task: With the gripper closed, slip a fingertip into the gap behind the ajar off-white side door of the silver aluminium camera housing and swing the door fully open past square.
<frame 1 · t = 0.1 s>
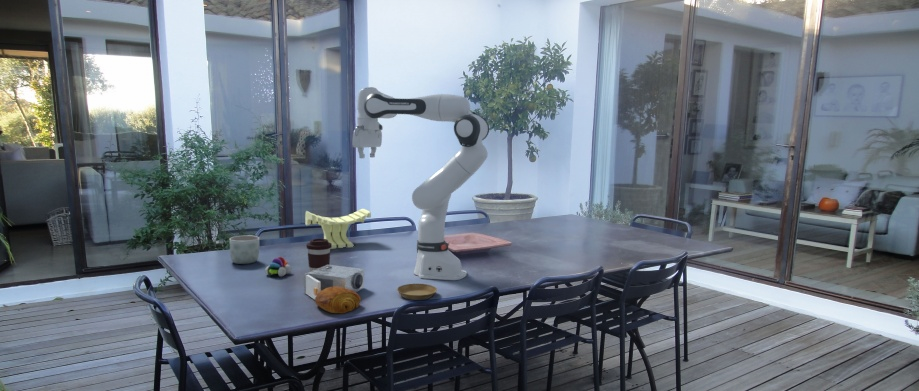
hand: (367, 157, 239), 48 cm above the table, fingers open, 8 cm apart
pale yellow ridged piece: (337, 245, 287), on the table
rainbow toy: (278, 275, 227), on the table
croissant: (338, 308, 188), on the table
camera housing: (335, 290, 207), on the table
plant saucer: (417, 296, 204), on the table
planter: (245, 262, 245), on the table
coffee cup: (319, 276, 226), on the table
side door: (311, 287, 197), point 4 cm above the table, hinge at 35.0°
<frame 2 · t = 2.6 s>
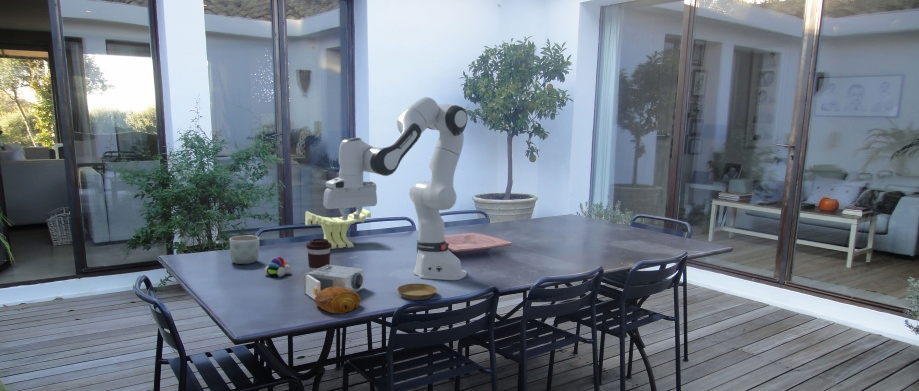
hand: (350, 219, 204), 27 cm above the table, fingers open, 3 cm apart
nothing on the table moved.
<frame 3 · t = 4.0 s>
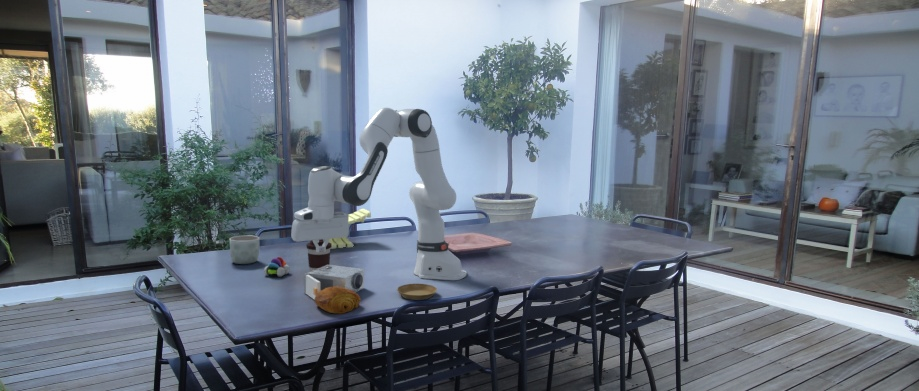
hand: (320, 251, 195), 17 cm above the table, fingers closed
nothing on the table moved.
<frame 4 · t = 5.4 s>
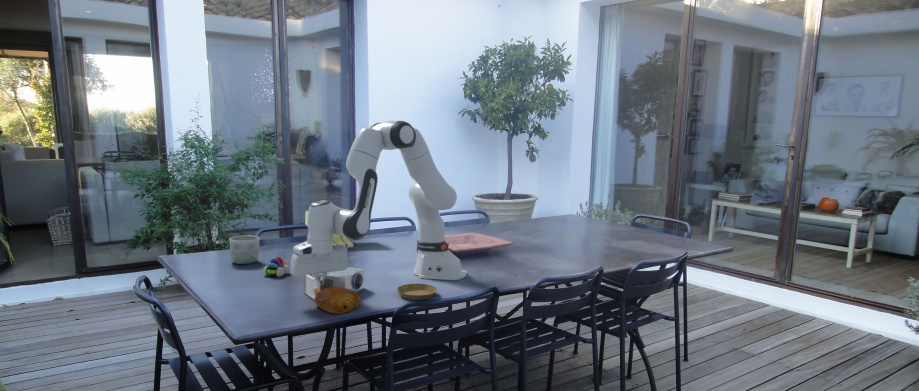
hand: (319, 284, 196), 5 cm above the table, fingers closed
side door: (311, 287, 197), point 4 cm above the table, hinge at 35.8°, touching gripper
everything else where it was.
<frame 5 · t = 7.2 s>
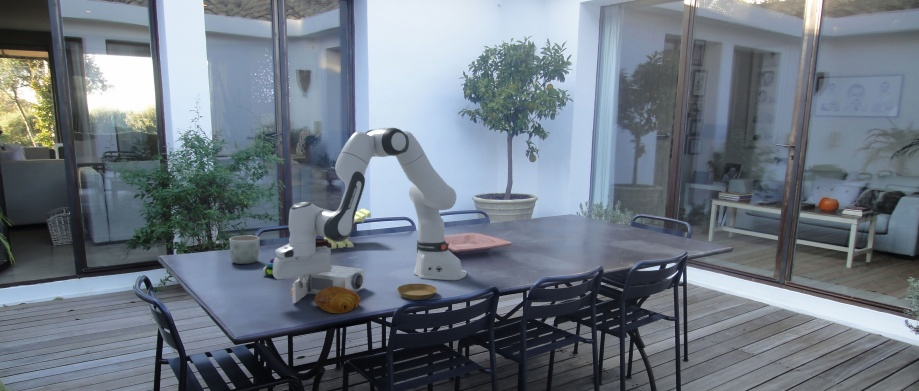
hand: (303, 287, 193), 5 cm above the table, fingers closed, pressing on side door
side door: (300, 287, 196), point 4 cm above the table, hinge at 76.0°, touching gripper
everything else where it was.
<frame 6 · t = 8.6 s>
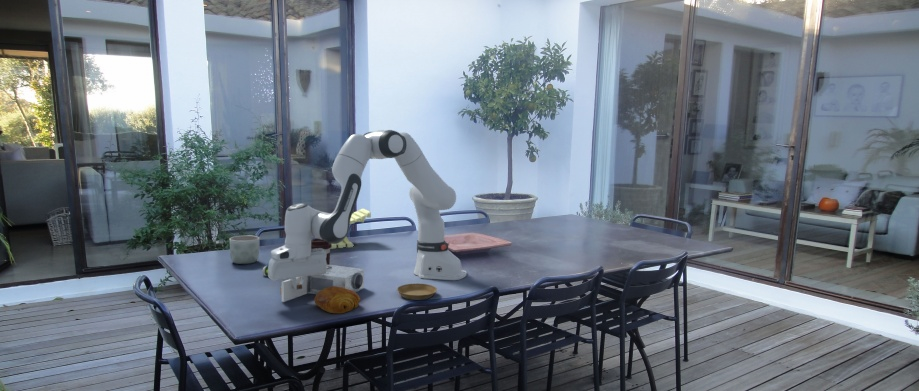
hand: (298, 289, 194), 4 cm above the table, fingers closed
side door: (295, 287, 196), point 4 cm above the table, hinge at 97.2°
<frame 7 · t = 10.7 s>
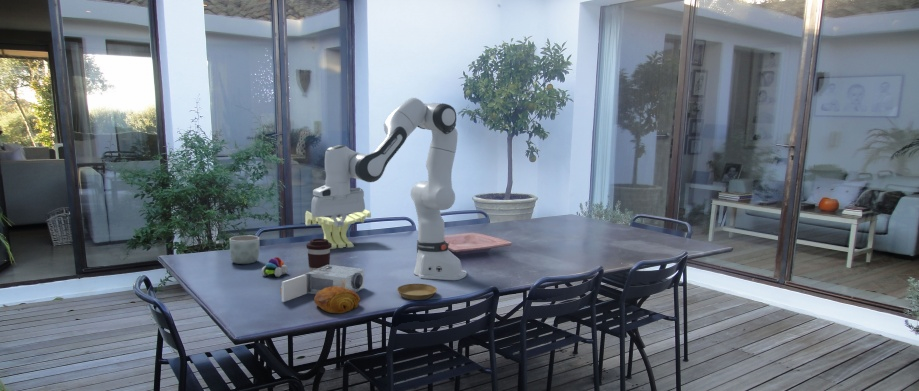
hand: (339, 226, 206), 24 cm above the table, fingers closed
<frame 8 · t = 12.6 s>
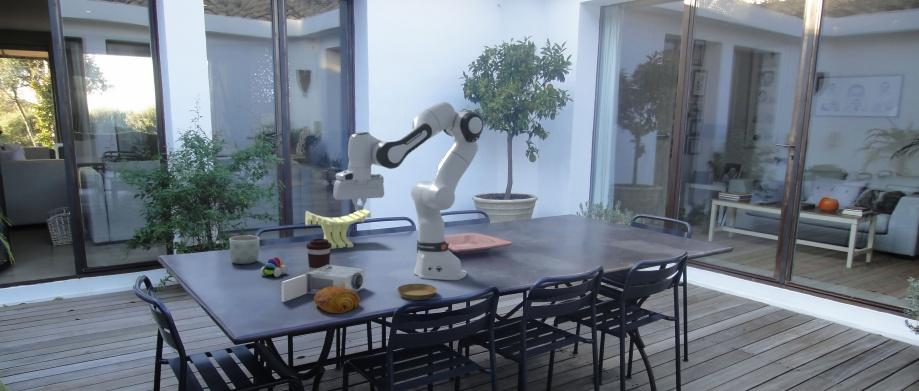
hand: (359, 210, 214), 29 cm above the table, fingers closed
at the end: side door at +97° (first picture: +35°); side door touching nothing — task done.
